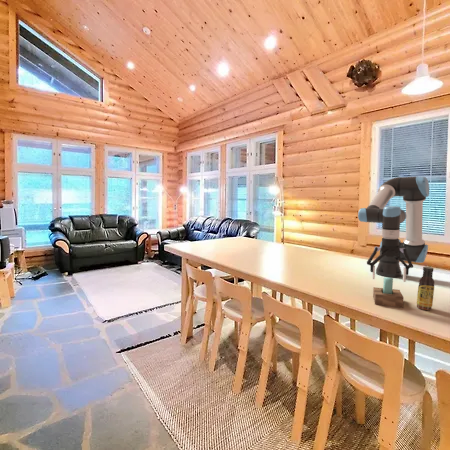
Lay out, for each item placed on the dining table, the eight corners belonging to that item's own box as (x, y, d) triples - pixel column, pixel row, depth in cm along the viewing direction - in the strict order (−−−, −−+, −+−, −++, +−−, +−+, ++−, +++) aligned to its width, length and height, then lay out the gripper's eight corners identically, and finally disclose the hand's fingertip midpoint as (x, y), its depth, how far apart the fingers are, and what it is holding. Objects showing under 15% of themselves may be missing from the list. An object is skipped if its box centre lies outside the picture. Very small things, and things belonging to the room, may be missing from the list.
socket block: (373, 296, 161) (373, 287, 160) (398, 299, 157) (399, 289, 156) (375, 304, 150) (375, 294, 149) (402, 307, 145) (403, 297, 145)
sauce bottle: (418, 309, 142) (420, 268, 140) (415, 305, 148) (417, 265, 146) (434, 311, 140) (437, 269, 138) (430, 307, 146) (433, 266, 144)
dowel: (382, 299, 156) (383, 277, 154) (391, 300, 154) (392, 277, 153) (383, 302, 152) (384, 279, 151) (392, 303, 151) (393, 280, 149)
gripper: (363, 238, 151) (361, 279, 153) (421, 240, 142) (419, 284, 144) (362, 235, 158) (360, 275, 160) (418, 237, 149) (415, 279, 151)
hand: (388, 279), depth 152 cm, fingers open, 13 cm apart
